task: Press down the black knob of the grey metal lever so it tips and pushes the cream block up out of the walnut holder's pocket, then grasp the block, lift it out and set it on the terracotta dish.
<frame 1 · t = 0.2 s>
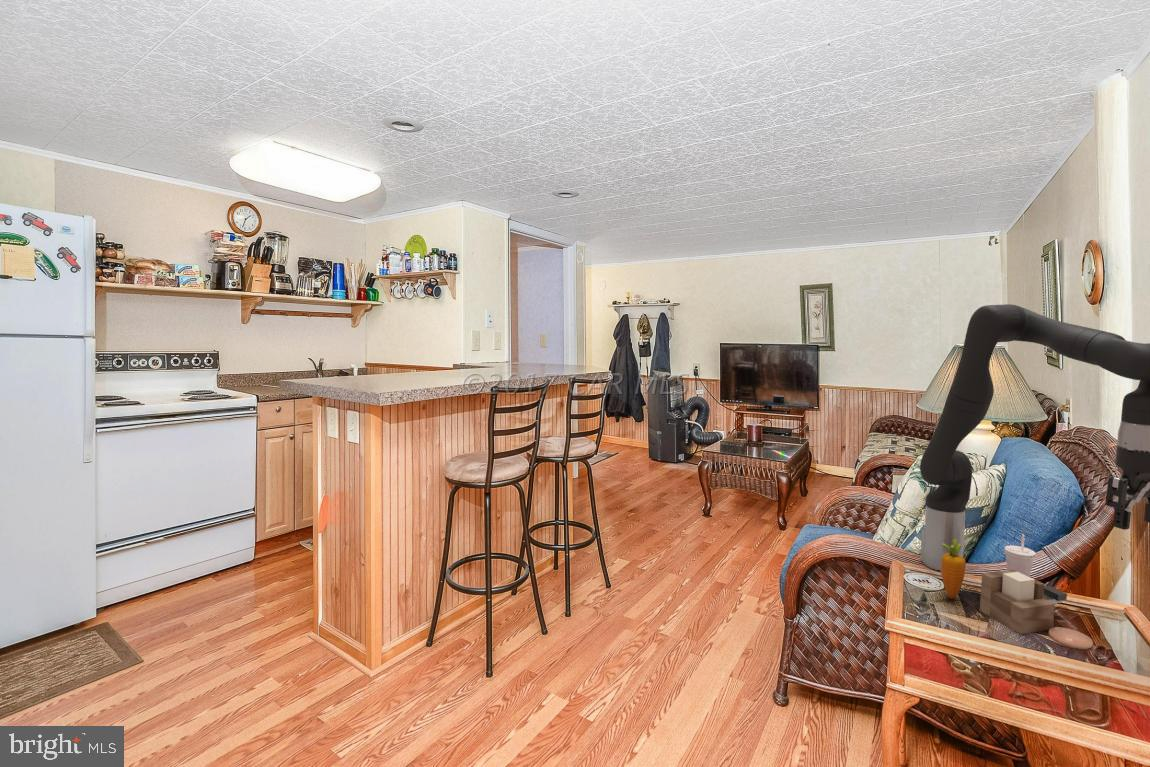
hand: (1136, 525, 106), 28 cm above the table, tool pointing down, fingers open, 8 cm apart
walnut holder: (1032, 617, 125), on the table
smoothie: (1017, 586, 140), on the table
cream block: (1017, 601, 124), point 4 cm above the table, touching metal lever
carrot: (951, 599, 134), on the table
terracotta dish: (1070, 639, 116), on the table
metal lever: (1034, 598, 125), point 5 cm above the table, hinge at 0.0°, touching cream block
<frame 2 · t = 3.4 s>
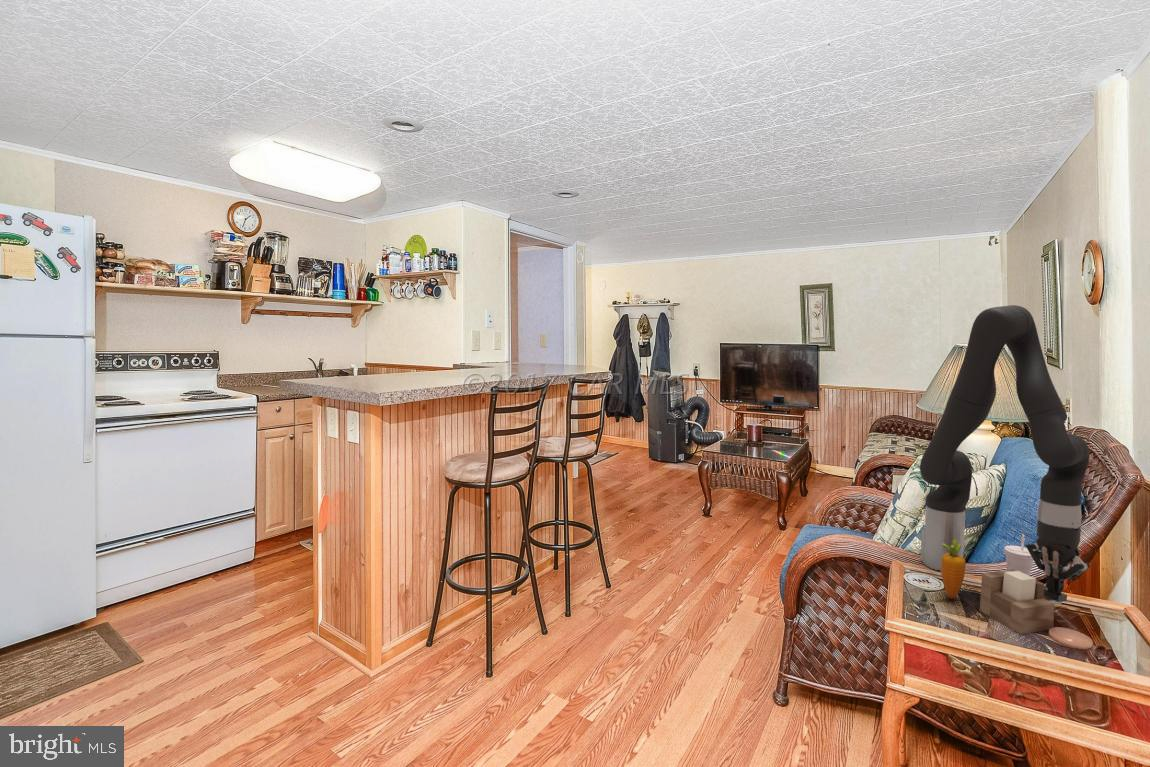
hand: (1054, 591, 125), 6 cm above the table, tool pointing down, fingers closed
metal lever: (1034, 598, 125), point 5 cm above the table, hinge at 3.1°, touching cream block, gripper
everything else where it was.
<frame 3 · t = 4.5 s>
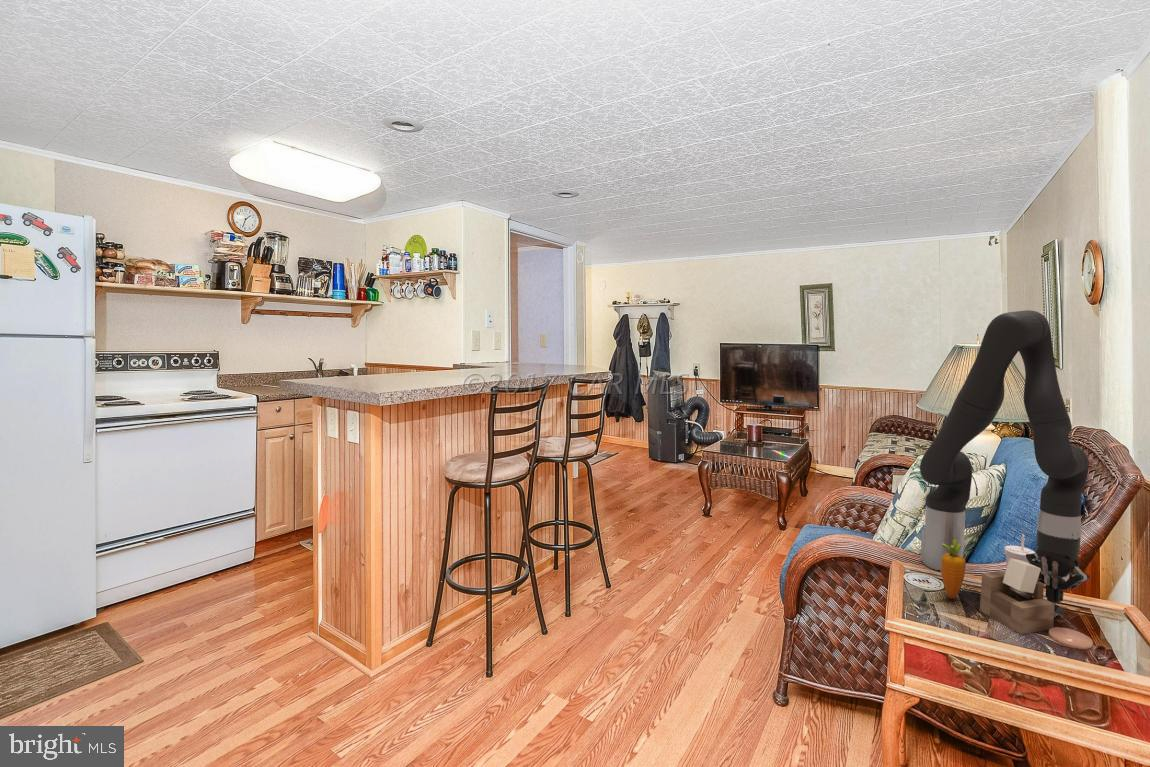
hand: (1053, 601, 126), 3 cm above the table, tool pointing down, fingers closed
cream block: (1017, 587, 123), point 8 cm above the table, tilted 16°, touching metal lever, walnut holder
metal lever: (1035, 599, 125), point 4 cm above the table, hinge at 33.8°, touching cream block
everything else where it was.
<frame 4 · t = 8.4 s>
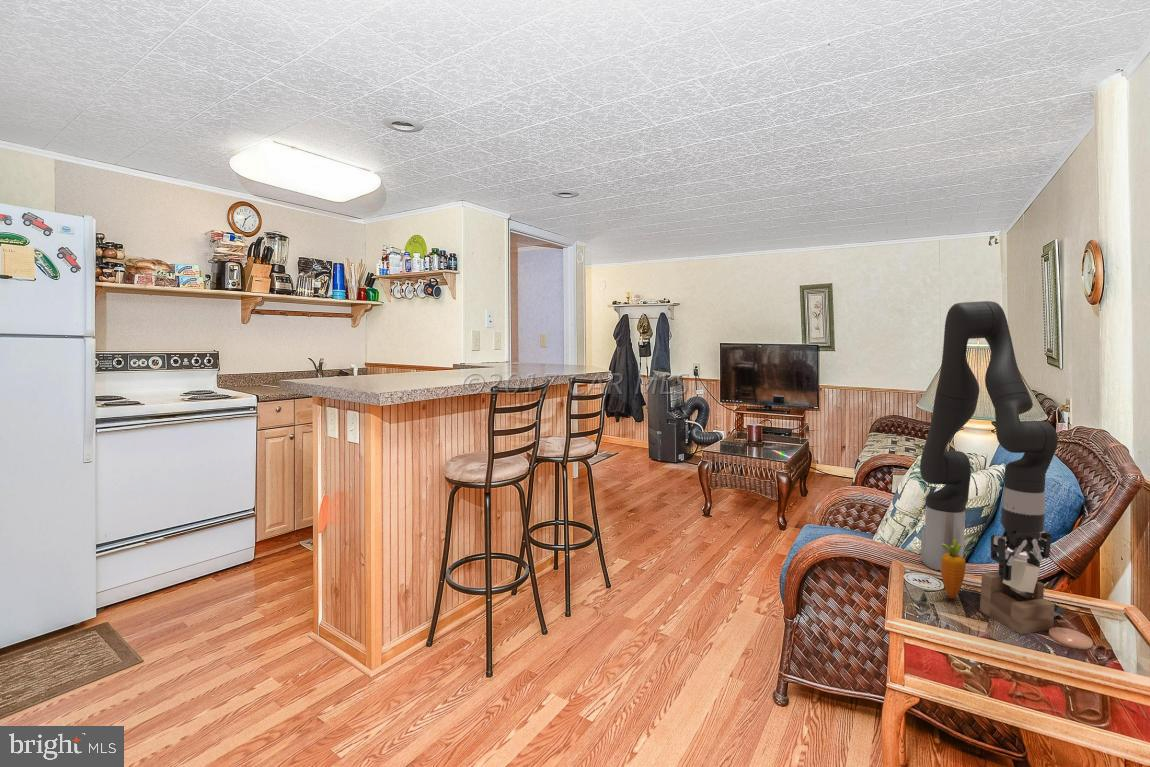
hand: (1018, 577, 123), 10 cm above the table, tool pointing down, fingers open, 7 cm apart
cream block: (1017, 587, 123), point 8 cm above the table, tilted 14°, touching gripper, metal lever
everything else where it was.
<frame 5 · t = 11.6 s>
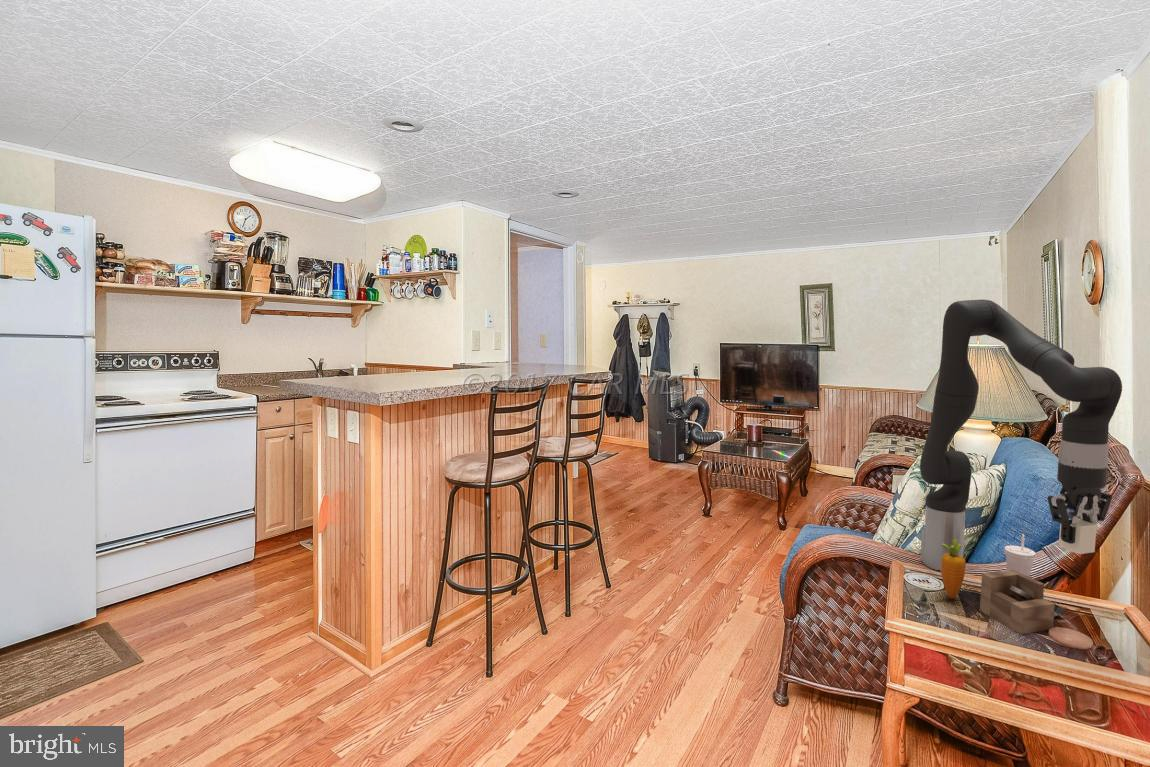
hand: (1077, 540, 114), 22 cm above the table, tool pointing down, fingers closed on cream block, 4 cm apart
cream block: (1076, 549, 114), point 20 cm above the table, touching gripper
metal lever: (1035, 599, 125), point 4 cm above the table, hinge at 33.5°
everything else where it was.
when the fingers open (5 cm above the table, at t = 14.5 s): cream block drops 2 cm, resting on terracotta dish.
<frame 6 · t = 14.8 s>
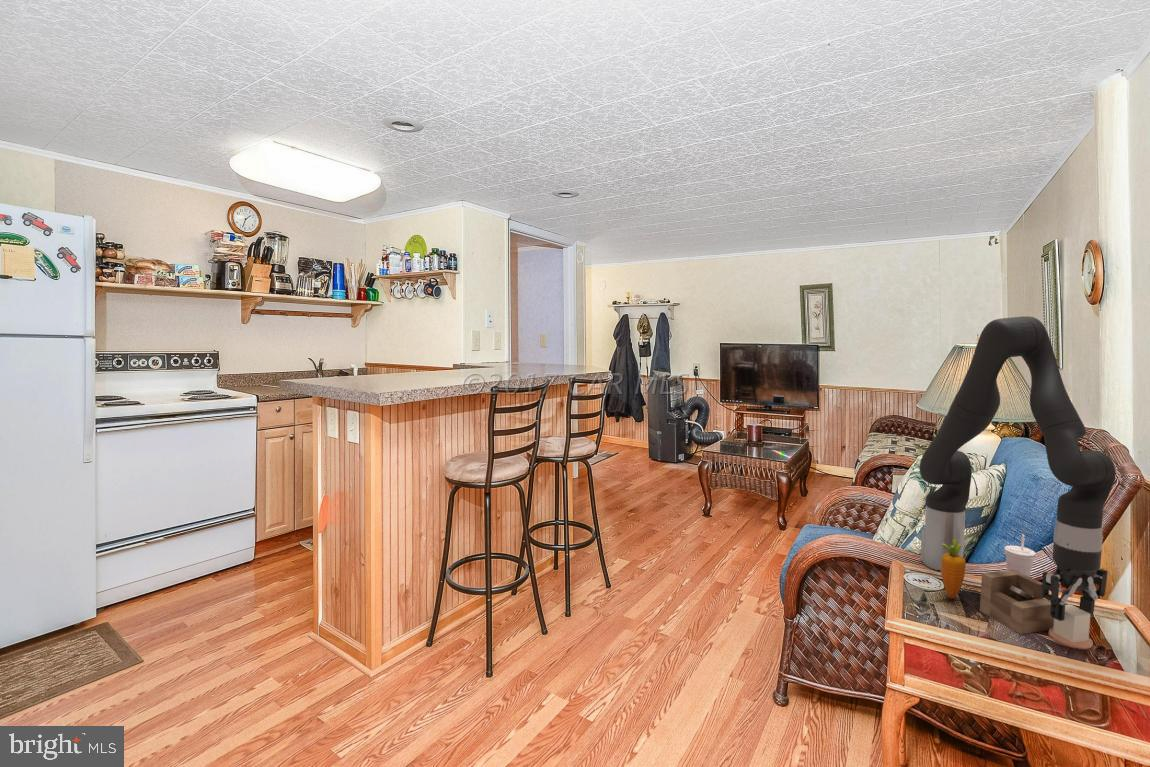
hand: (1071, 616, 116), 5 cm above the table, tool pointing down, fingers open, 7 cm apart
cream block: (1070, 636, 116), point 1 cm above the table, touching terracotta dish
everything else where it was.
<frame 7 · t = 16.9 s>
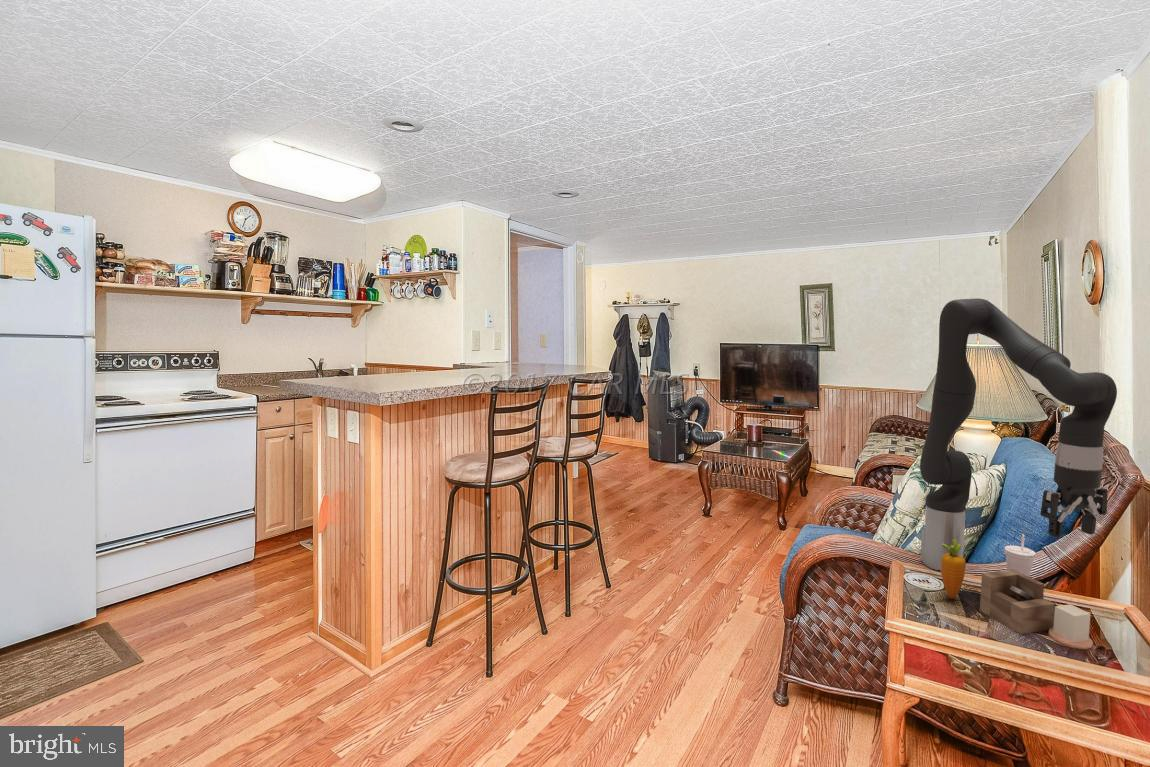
hand: (1071, 534, 118), 22 cm above the table, tool pointing down, fingers open, 8 cm apart
nothing on the table moved.
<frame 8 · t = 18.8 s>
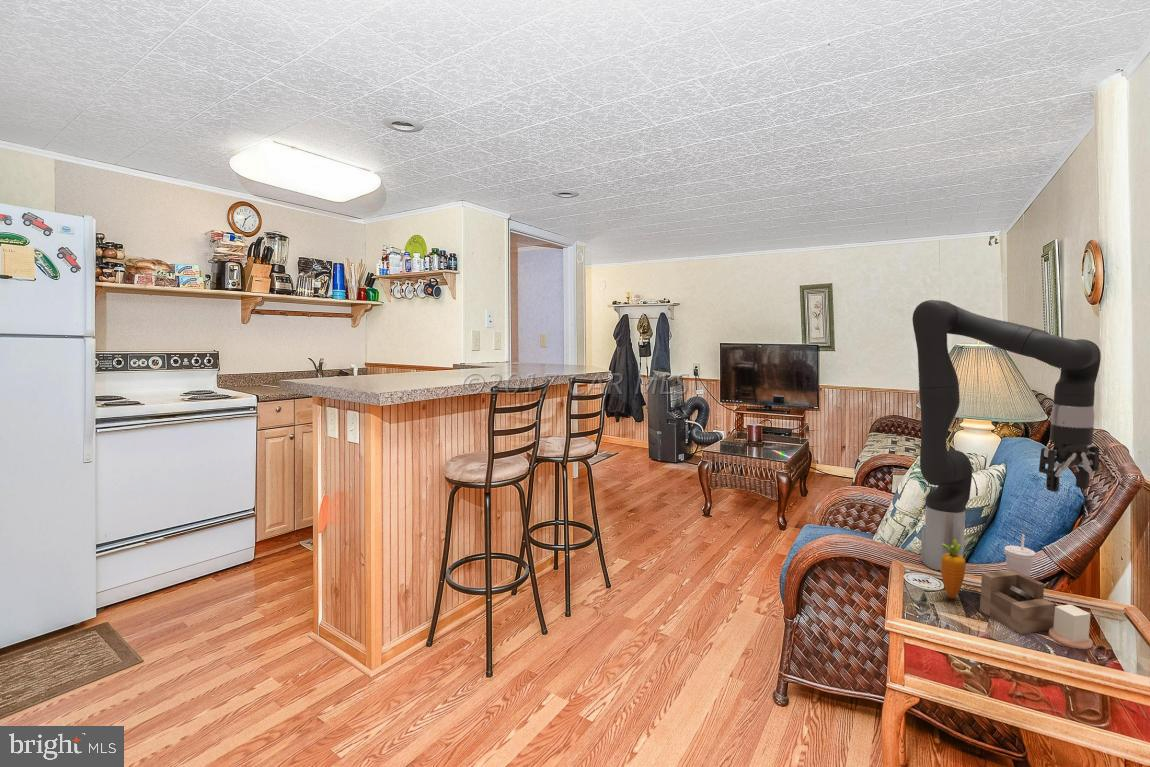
hand: (1067, 489, 129), 28 cm above the table, tool pointing down, fingers open, 8 cm apart
nothing on the table moved.
at the end: cream block 0.0 cm off-centre on the terracotta dish, point 0.8 cm above the terracotta dish's base; cream block tilted 0°; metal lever at +34° (first picture: +0°) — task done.
